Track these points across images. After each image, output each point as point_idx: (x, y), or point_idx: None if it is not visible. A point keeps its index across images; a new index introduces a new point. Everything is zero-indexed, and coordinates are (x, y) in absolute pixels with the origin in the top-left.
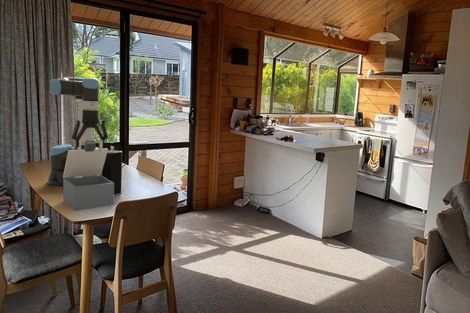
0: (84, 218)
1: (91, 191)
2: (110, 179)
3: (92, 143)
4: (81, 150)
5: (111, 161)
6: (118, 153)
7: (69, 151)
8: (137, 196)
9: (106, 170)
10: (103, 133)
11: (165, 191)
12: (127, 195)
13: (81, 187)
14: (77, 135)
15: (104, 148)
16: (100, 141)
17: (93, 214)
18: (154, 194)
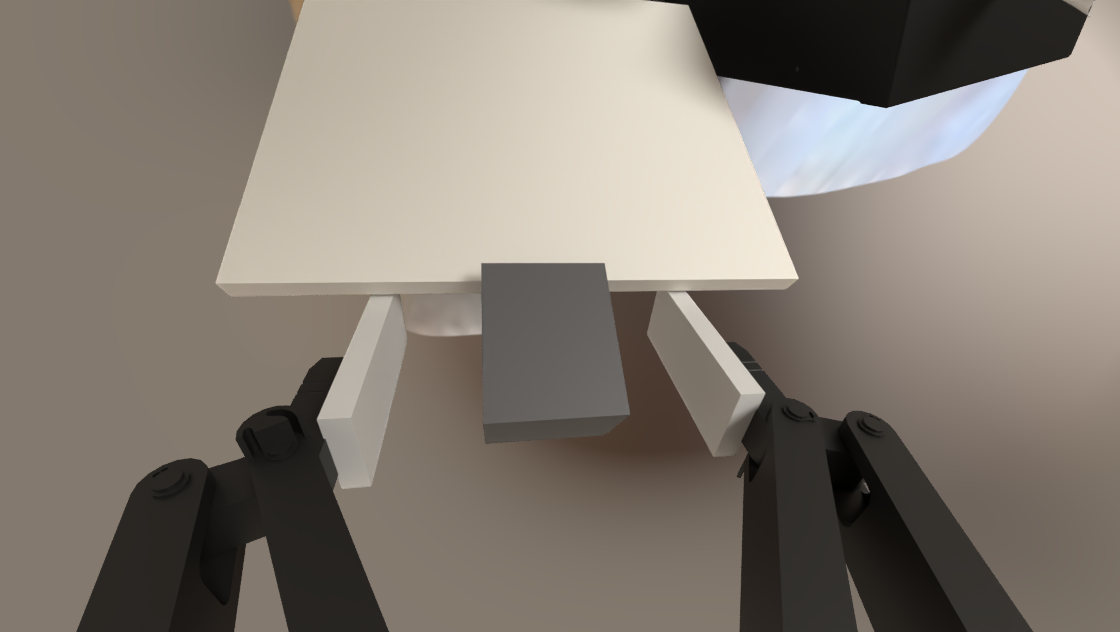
0: (423, 324)
1: None
2: (717, 71)
3: (565, 435)
4: (429, 292)
5: (817, 92)
6: (990, 74)
7: (244, 289)
8: (769, 156)
9: (755, 6)
10: (872, 520)
11: (935, 146)
12: (746, 110)
13: None
14: (268, 532)
15: (756, 280)
16: (709, 422)
17: (469, 299)
18: (853, 167)
